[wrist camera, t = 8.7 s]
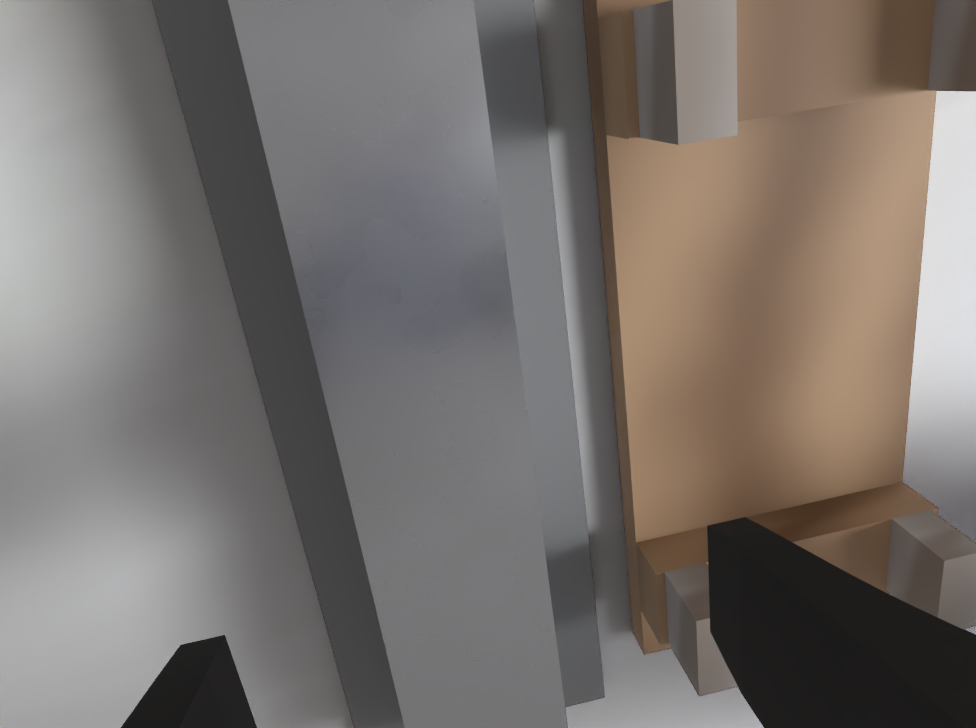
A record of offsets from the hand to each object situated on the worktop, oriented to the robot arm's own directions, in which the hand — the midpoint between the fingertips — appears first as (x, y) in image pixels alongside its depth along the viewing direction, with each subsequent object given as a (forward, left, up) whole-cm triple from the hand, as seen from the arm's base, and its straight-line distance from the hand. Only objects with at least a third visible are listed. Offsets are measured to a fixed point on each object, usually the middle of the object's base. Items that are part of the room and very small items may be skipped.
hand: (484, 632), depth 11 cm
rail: (0, 0, -9) cm, 9 cm away
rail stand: (-9, 0, -10) cm, 14 cm away
